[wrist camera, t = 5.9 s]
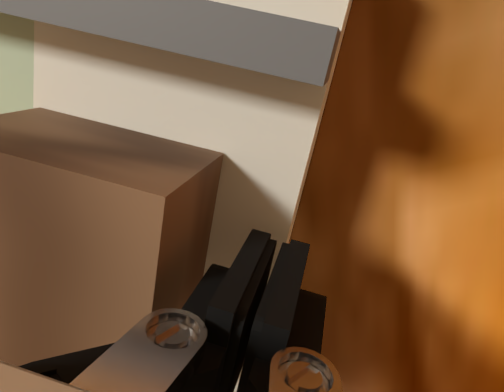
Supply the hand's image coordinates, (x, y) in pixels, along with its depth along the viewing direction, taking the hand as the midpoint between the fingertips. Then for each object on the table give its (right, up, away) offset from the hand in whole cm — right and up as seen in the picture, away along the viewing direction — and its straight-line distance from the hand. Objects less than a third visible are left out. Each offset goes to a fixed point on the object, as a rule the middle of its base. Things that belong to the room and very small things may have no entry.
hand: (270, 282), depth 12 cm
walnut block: (-5, +2, +2) cm, 5 cm away
